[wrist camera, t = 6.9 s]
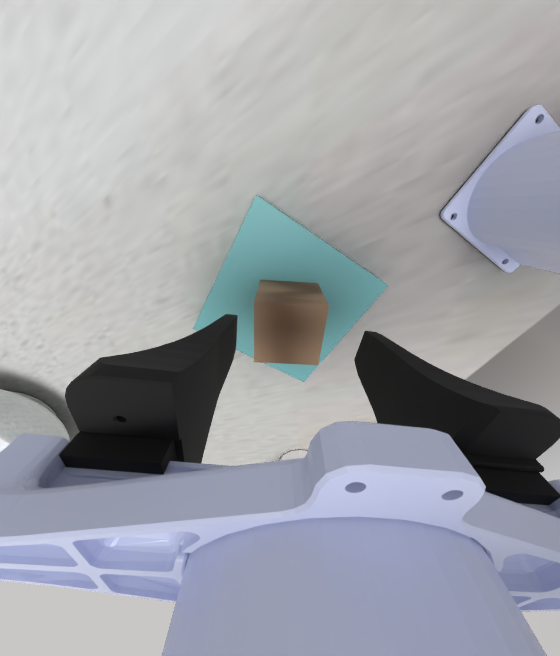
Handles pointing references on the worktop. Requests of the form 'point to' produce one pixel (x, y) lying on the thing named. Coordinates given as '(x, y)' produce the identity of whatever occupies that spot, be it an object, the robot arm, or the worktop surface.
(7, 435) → the cereal bowl
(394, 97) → the worktop surface
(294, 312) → the walnut cube
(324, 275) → the teal box
